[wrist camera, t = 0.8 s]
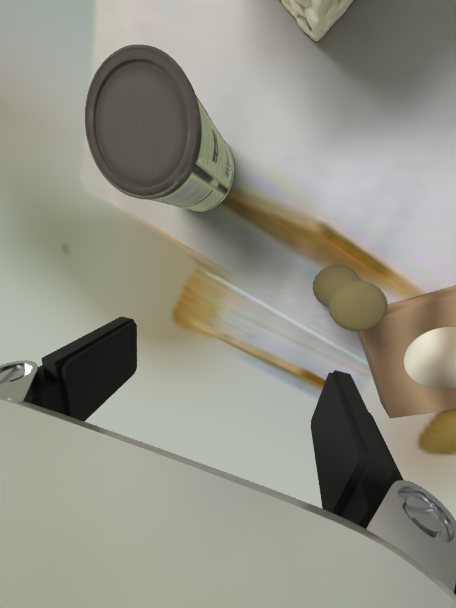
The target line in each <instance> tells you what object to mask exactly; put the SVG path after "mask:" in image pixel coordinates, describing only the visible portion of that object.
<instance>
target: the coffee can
mask: <svg viewBox="0 0 456 608" xmlns="http://www.w3.org/2000/svg"><path fill="white" fill-rule="evenodd" d="M85 128H86V136H87V140H88V144H89V148H90V151H91V154H92V156H93V158H94V161H95V163H96V165H97V167H98V168H99V170H100V171H101V173H102V174H103V176H104V177H105V178H106V179H107V180H108V181H109V183H111V184H112V185H113V186H114V187H115V188H116V189H118V190H119V191H121V192H122V193H124V194H126V195H128V196H131V197H135V198H139V199H149V200H153V201H157V202H162V203H166V204H170V205H174V206H178V207H182V208H186V209H189V210H191V211H197V212H202V211H207V210H210V209H213V208H215V207H217V206H218V205H219V204H220V203H221V202H222V201H223V200H224V199H225V198H226V196H227V195H228V193H229V191H230V189H231V187H232V184H233V179H234V161H233V156H232V153H231V150H230V148H229V147H228V145H227V143H226V142H225V141H224V140H223V138H222V136H221V135H220V133H219V132H218V130H217V128H216V127H215V125H214V124H213V122H212V120H211V119H210V117H209V116H208V114H207V112H206V110H205V109H204V107H203V106H202V104H201V103H200V101H199V99H198V98H197V96H196V95H195V92H194V90H193V88H192V86H191V83H190V82H189V80H188V78H187V76H186V75H185V73H184V71H183V70H182V69H181V67H180V66H179V65H178V64H177V63H176V61H175V60H174V59H173V58H171V57H170V56H169V55H168V54H166V53H165V52H163V51H162V50H159V49H157V48H155V47H151V46H147V45H130V46H126V47H123V48H121V49H119V50H117V51H115V52H114V53H113V54H111V55H110V56H109V57H108V58H107V59H106V60H105V61H104V62H103V63H102V65H101V66H100V68H99V69H98V70H97V72H96V74H95V75H94V78H93V80H92V82H91V85H90V88H89V91H88V95H87V100H86V107H85Z"/></svg>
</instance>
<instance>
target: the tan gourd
mask: <svg viewBox="0 0 456 608" xmlns="http://www.w3.org/2000/svg"><path fill="white" fill-rule="evenodd" d="M313 291H314V295H315V296H316V298H317V299H318V300H319V301H320V302H322V303H323V304H324V305H326V306H327V307H328V308H329V311H330V315H331V317H332V318H333V319H334V321H335V322H336V323H337V324H338V325H340V326H341V327H343V328H345V329H348V330H351V331H363V330H368V329H370V328H372V327H374V326H376V325H377V324H378V323H379V322H380V321H382V319H383V318H384V316H385V314H386V312H387V306H388V305H387V300H386V297H385V295H384V294H383V292H382V291H381V289H379V288H378V287H376V286H375V285H373V284H371V283H368V282H365V281H361V279H360V278H359V277H358V276H357V274H356V273H355V272H354V271H353V270H352V269H350V268H349V267H347V266H343V265H332V266H329V267H326V268H325V269H323V270H322V271H320V272H319V274H318V275H317V276H316V278H315V280H314V282H313Z"/></svg>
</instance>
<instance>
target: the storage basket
mask: <svg viewBox="0 0 456 608" xmlns="http://www.w3.org/2000/svg"><path fill="white" fill-rule="evenodd" d="M281 1H282V3H283V5H284V6H285V8H286V9H287V10H288V11H289V12H290V14H291V15H292V16H293V17H294V18H295V19H296V21H297V24H298V25H299V27H300V28H301V29H302V30H303V31H304V32H305V33H306V34H307V35H309V36H310V38H311V39H313V40H314V41H316V42H317V41H319V40H320V39H321V38H322V37H324V35H325V34H326V32H327V31H328V30H329V29H330V28H331V26H332V25H333V24H334V23H335V22H336V21H337V20H338V19H339V18H340V17H341V16H342V14H343V13H344V12H345V11H346V10H347V8H348V7H349V5H350V4H351V3H352V2H353V1H354V0H281Z"/></svg>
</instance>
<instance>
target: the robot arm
mask: <svg viewBox="0 0 456 608" xmlns="http://www.w3.org/2000/svg"><path fill="white" fill-rule="evenodd" d="M42 363H43V365H42V366H40V367H38V365H37V364H36V363H35V362H32V361H15V362H10V363H7V364H3V365H1V366H0V608H456V520H455V519H454V517H453V516H452V515H451V513H450V512H449V511H448V510H447V509H446V507H444V505H443V504H442V503H441V502H440V501H439V500H438V499H437V498H435V497H434V496H433V495H432V494H430V493H429V492H428V491H426V490H425V489H423V488H422V487H420V486H418V485H416V484H414V483H412V482H409V481H404V480H403V478H402V476H401V474H400V472H399V470H398V468H397V466H396V464H395V462H394V460H393V458H392V456H391V454H390V451H389V450H388V448H387V445H386V443H385V441H384V439H383V437H382V435H381V433H380V431H379V429H378V427H377V425H376V423H375V421H374V419H373V417H372V415H371V414H370V413H369V412H368V410H367V409H366V406H365V404H364V402H363V400H362V398H361V396H360V393H359V391H358V389H357V387H356V385H355V383H354V381H353V379H352V377H351V375H350V374H348V373H344V372H340V371H334V372H333V373H329V374H328V376H327V379H326V382H325V384H324V387H323V390H322V393H321V395H320V398H319V401H318V403H317V406H316V409H315V411H314V414H313V417H312V420H311V431H312V438H313V445H314V452H315V459H316V465H317V472H318V480H319V486H320V493H321V500H322V507H323V509H321V508H319V507H316V506H314V505H311V504H308V503H306V502H303V501H301V500H298V499H296V498H293V497H290V496H288V495H285V494H283V493H280V492H277V491H275V490H272V489H269V488H267V487H264V486H261V485H259V484H256V483H253V482H250V481H248V480H245V479H242V478H239V477H237V476H234V475H231V474H229V473H226V472H223V471H220V470H218V469H215V468H212V467H209V466H207V465H204V464H201V463H198V462H196V461H193V460H190V459H187V458H185V457H182V456H179V455H176V454H174V453H171V452H168V451H165V450H162V449H160V448H157V447H154V446H151V445H148V444H146V443H143V442H140V441H137V440H135V439H132V438H129V437H126V436H123V435H120V434H118V433H115V432H112V431H109V430H106V429H103V428H101V427H98V426H95V425H92V424H89V423H86V422H84V421H85V420H86V419H87V418H88V417H89V416H90V415H91V414H93V413H94V412H95V411H96V410H97V409H98V408H99V407H100V406H101V405H102V404H103V403H104V402H105V401H106V400H107V399H108V398H109V397H110V396H111V395H112V394H114V393H115V392H116V391H117V390H118V389H119V388H120V387H121V386H122V385H123V384H124V383H125V382H126V381H127V380H128V379H129V378H130V377H131V376H132V375H133V374H134V373H135V371H136V368H137V325H136V323H134V320H133V319H130V318H125V317H119V318H118V319H116V320H114V321H112V322H110V323H108V324H106V325H104V326H102V327H100V328H98V329H97V330H94V331H93V332H91V333H89V334H87V335H85V336H83V337H81V338H79V339H78V340H75V341H74V342H72V343H70V344H68V345H66V346H64V347H62V348H60V349H58V350H57V351H55V352H53V353H51V354H49V355H47V356H45V357H43V358H42Z"/></svg>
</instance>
